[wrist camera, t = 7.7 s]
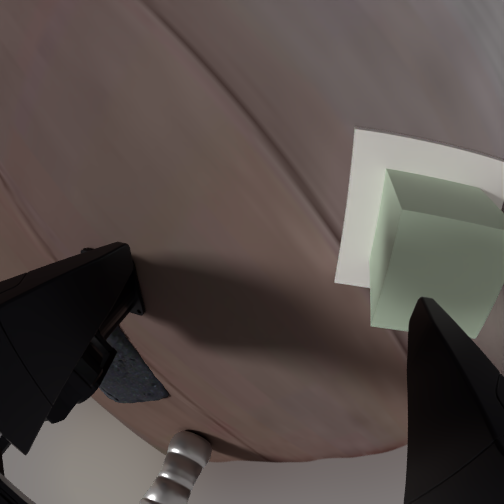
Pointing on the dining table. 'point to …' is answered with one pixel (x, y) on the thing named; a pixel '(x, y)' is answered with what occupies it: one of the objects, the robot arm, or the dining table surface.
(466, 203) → the cube
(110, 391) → the dark slate chunk
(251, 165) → the dining table surface
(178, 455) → the plastic bottle
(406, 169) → the tile
